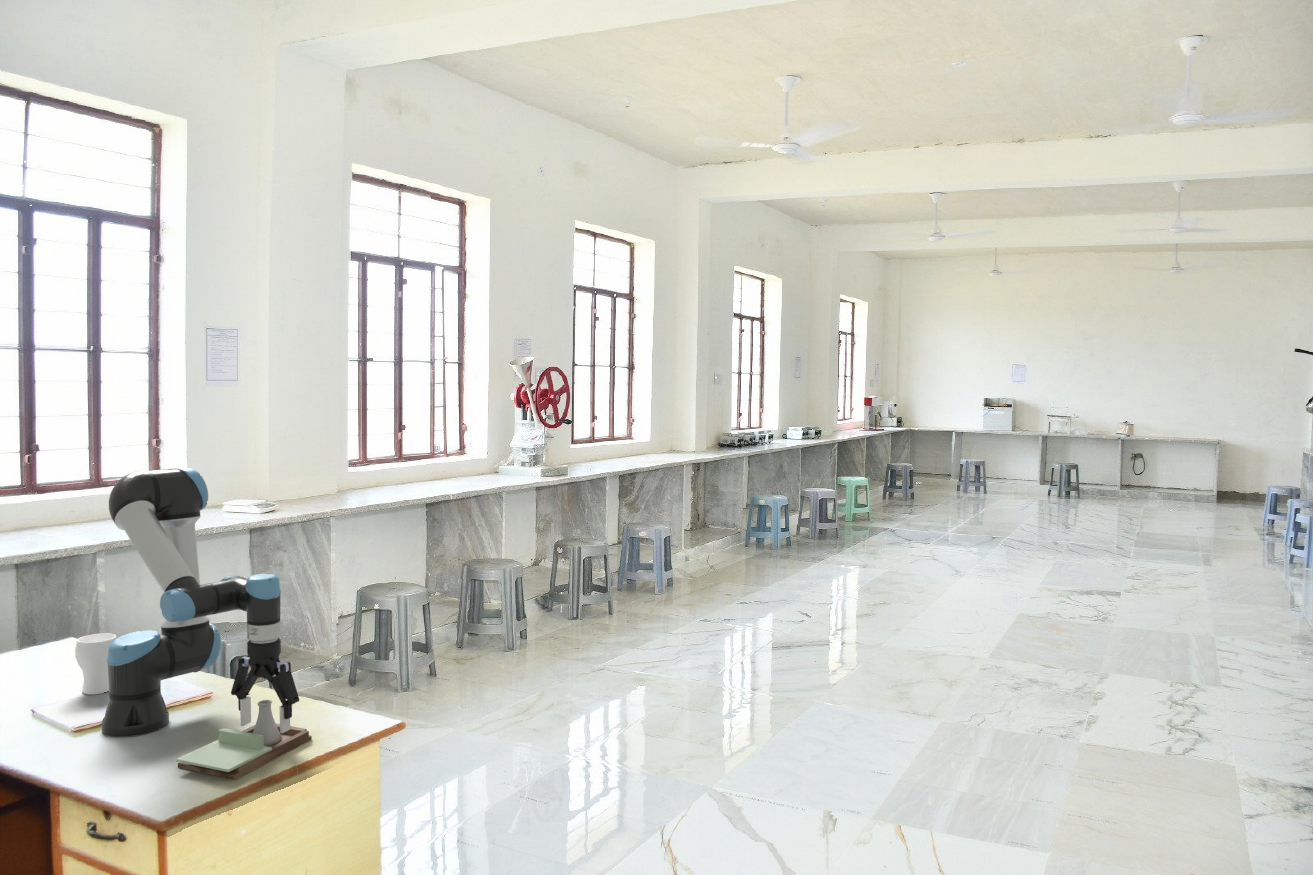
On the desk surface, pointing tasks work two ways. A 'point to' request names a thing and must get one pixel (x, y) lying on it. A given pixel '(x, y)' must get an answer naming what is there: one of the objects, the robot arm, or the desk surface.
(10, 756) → the desk surface
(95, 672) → the cup
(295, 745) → the tray
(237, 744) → the cover
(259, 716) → the flask
